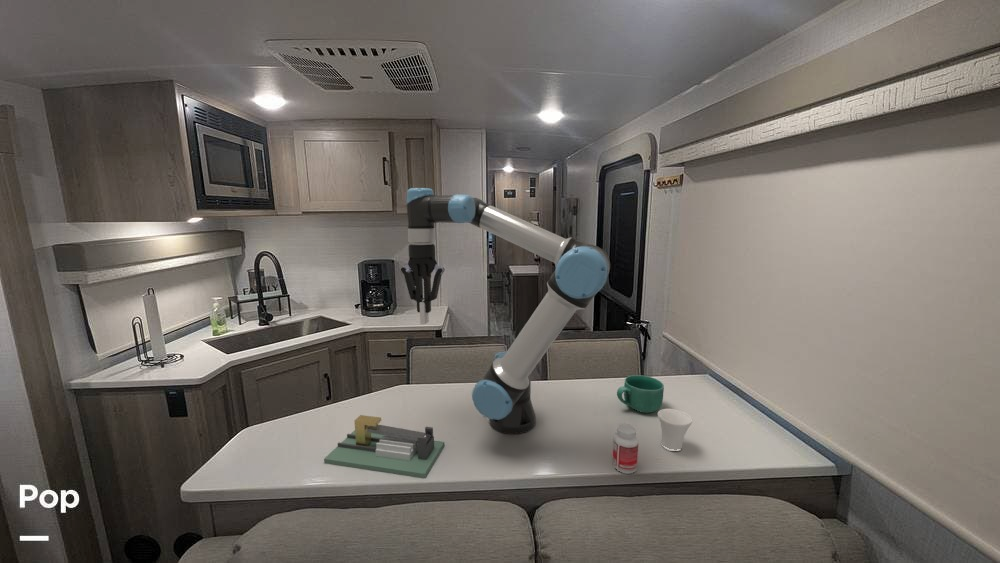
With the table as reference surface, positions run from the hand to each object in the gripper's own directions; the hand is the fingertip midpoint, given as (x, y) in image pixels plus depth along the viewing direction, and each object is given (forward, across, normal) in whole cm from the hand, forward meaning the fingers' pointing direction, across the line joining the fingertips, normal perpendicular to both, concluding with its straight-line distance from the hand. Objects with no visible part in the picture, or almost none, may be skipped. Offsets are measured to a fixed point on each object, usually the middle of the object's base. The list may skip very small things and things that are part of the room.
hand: (424, 322), depth 109 cm
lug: (+33, +12, +13) cm, 37 cm away
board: (+34, +6, +14) cm, 38 cm away
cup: (+35, -72, -6) cm, 80 cm away
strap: (+29, +3, +13) cm, 32 cm away
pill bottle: (+35, -58, +6) cm, 68 cm away
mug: (+35, -66, -27) cm, 80 cm away
